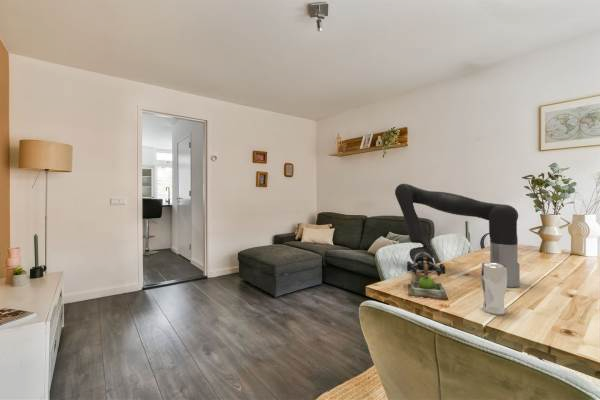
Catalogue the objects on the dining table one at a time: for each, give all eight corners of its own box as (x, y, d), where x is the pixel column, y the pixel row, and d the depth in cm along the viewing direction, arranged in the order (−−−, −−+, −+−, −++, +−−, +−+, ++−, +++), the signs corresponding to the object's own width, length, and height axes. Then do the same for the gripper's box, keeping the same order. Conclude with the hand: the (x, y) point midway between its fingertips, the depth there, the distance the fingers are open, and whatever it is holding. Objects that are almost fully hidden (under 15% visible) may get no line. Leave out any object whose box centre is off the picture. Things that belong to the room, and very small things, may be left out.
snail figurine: (432, 288, 109) (432, 257, 108) (435, 293, 102) (434, 261, 102) (417, 286, 110) (417, 257, 110) (419, 292, 104) (419, 260, 104)
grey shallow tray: (443, 289, 110) (443, 282, 109) (448, 300, 98) (448, 292, 98) (408, 286, 114) (408, 279, 114) (408, 296, 103) (408, 289, 103)
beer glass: (511, 316, 85) (511, 268, 85) (486, 314, 87) (486, 267, 86) (500, 307, 92) (500, 262, 92) (477, 306, 93) (477, 262, 93)
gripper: (406, 252, 122) (406, 261, 106) (442, 254, 117) (448, 263, 102) (406, 269, 122) (406, 280, 107) (442, 272, 117) (448, 284, 102)
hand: (426, 272), depth 104 cm, fingers open, 7 cm apart
